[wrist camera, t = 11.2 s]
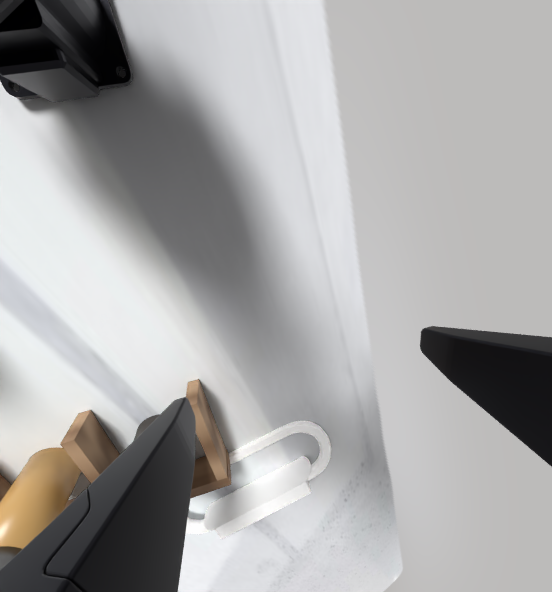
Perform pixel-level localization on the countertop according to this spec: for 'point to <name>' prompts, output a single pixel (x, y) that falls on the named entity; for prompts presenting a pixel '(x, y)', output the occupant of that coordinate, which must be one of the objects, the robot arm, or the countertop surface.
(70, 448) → the slot rack
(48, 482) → the amber jar
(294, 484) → the rolling pin
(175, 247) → the countertop surface
